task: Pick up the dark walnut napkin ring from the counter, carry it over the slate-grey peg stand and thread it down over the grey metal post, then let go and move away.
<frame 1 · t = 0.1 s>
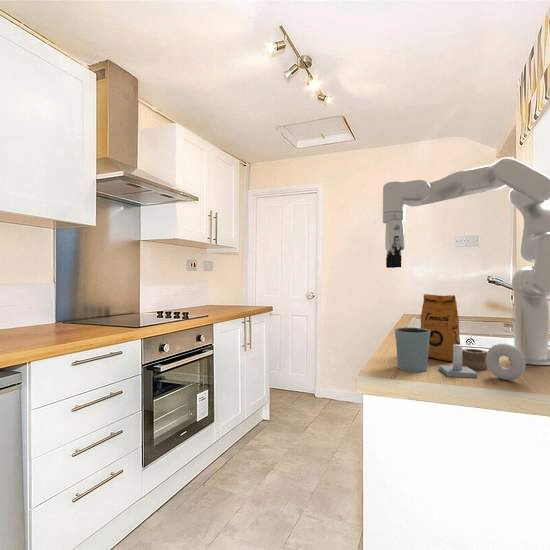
hand: (393, 267, 134), 31 cm above the countertop, tool pointing down, fingers open, 9 cm apart
donut: (504, 380, 106), on the countertop
peg stand: (457, 373, 112), on the countertop
blue grey cup: (411, 369, 117), on the countertop
coffee package: (440, 359, 132), on the countertop
ring: (474, 366, 120), on the countertop
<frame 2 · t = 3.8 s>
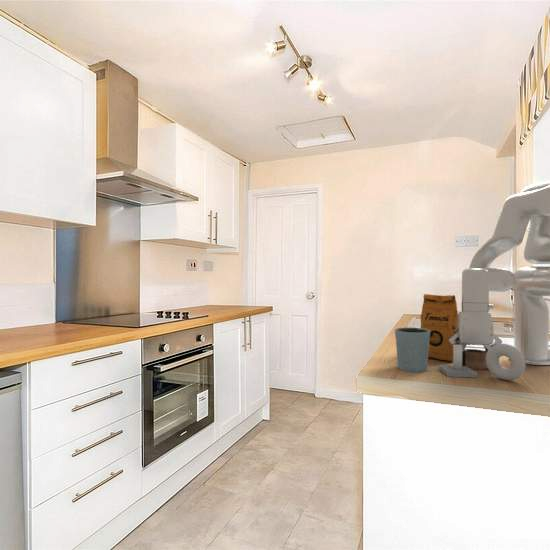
hand: (474, 364, 120), 1 cm above the countertop, tool pointing down, fingers closed on ring, 6 cm apart
ring: (474, 366, 120), on the countertop, touching gripper
everything else where it was.
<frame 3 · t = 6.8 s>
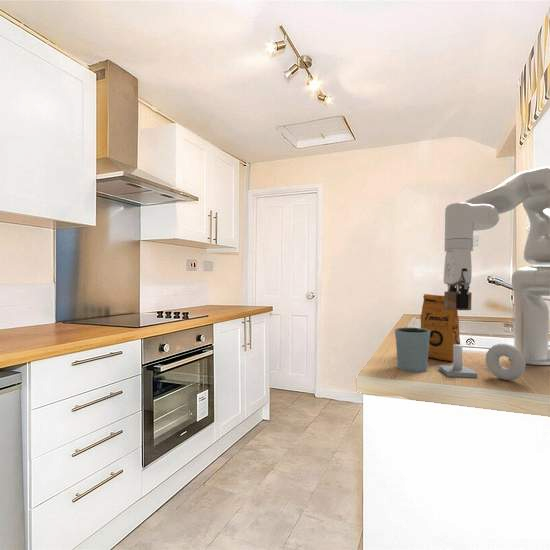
hand: (457, 306, 112), 19 cm above the countertop, tool pointing down, fingers closed on ring, 6 cm apart
ring: (457, 309, 112), point 19 cm above the countertop, touching gripper
everything else where it was.
when the fingers open (4 cm above the countertop, at t = 9.8 s): ring drops 2 cm, resting on peg stand.
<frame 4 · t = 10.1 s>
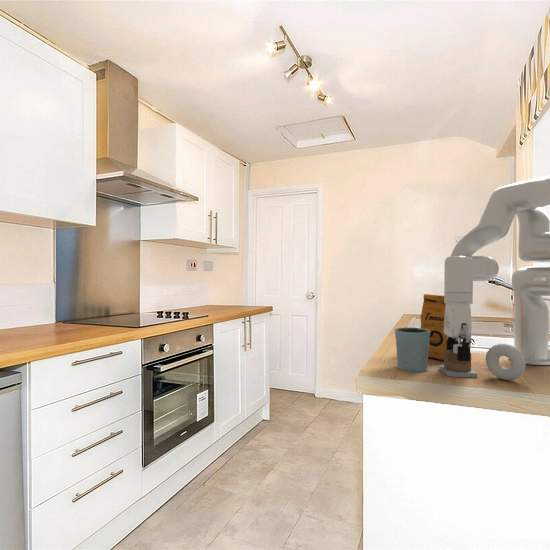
hand: (457, 357, 112), 5 cm above the countertop, tool pointing down, fingers open, 9 cm apart
ring: (457, 369, 113), point 1 cm above the countertop, touching peg stand
everything else where it was.
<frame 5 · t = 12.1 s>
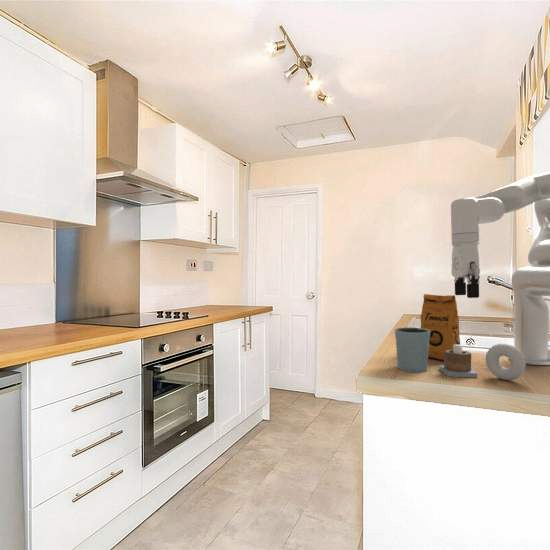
hand: (466, 296, 117), 22 cm above the countertop, tool pointing down, fingers open, 9 cm apart
nothing on the countertop moved.
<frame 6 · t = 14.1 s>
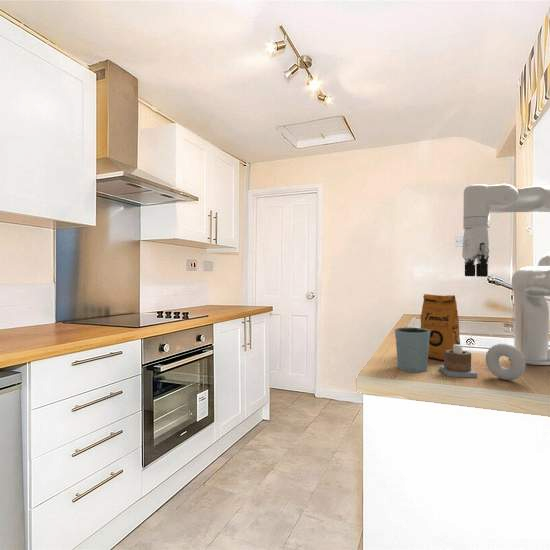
hand: (475, 276, 125), 28 cm above the countertop, tool pointing down, fingers open, 9 cm apart
nothing on the countertop moved.
at the end: ring 0.2 cm off-centre on the peg stand, point 1.2 cm above the peg stand's base; the gripper is holding nothing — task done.
